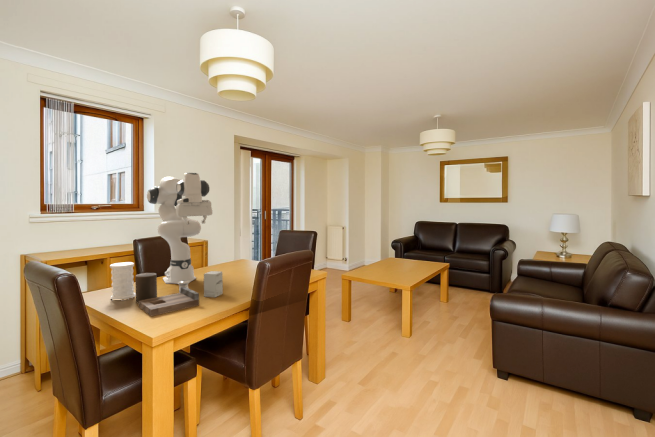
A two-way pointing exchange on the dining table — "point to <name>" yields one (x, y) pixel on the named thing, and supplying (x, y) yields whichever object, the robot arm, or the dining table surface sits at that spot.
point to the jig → (170, 302)
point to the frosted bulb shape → (183, 284)
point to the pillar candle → (146, 286)
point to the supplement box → (213, 284)
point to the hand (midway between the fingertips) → (195, 223)
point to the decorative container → (122, 280)
